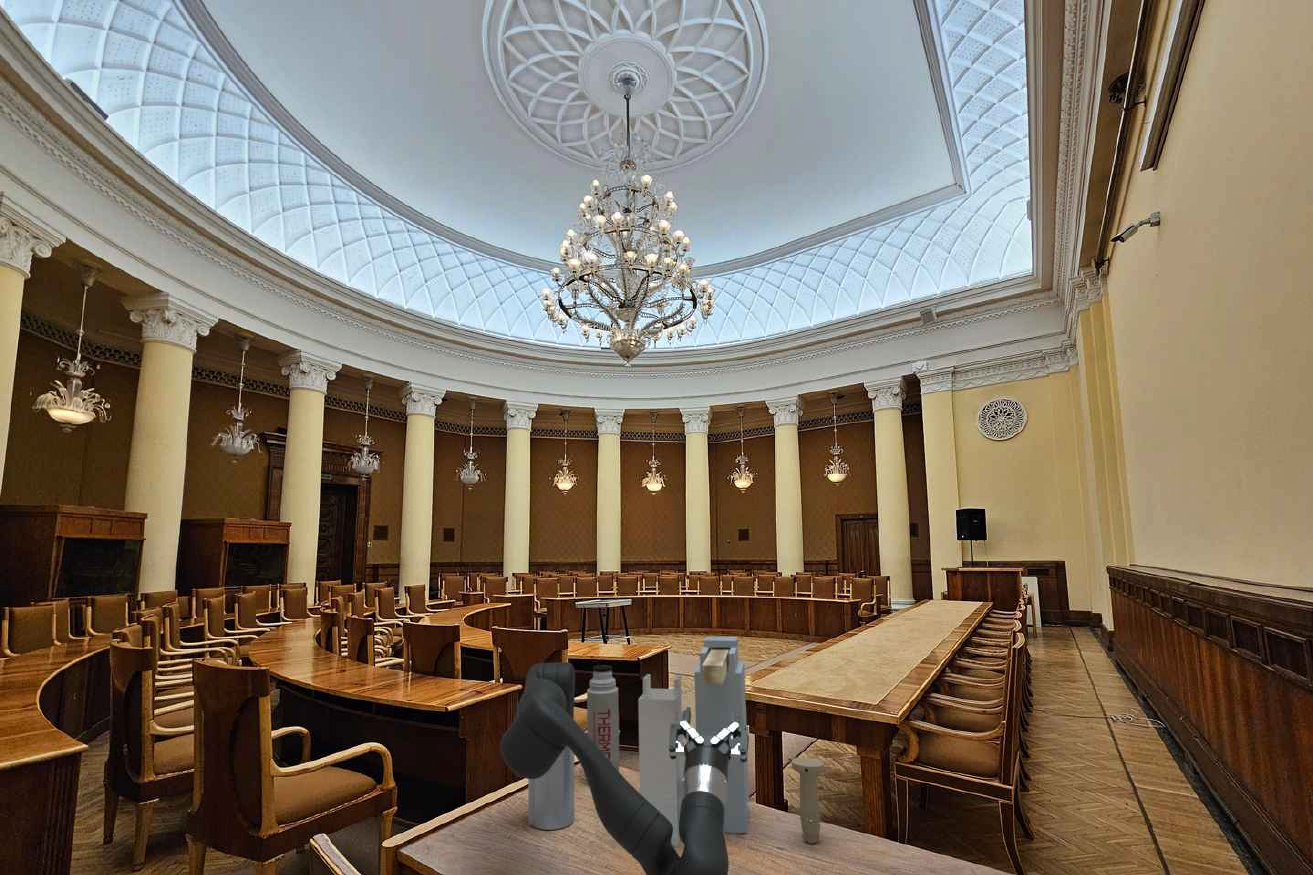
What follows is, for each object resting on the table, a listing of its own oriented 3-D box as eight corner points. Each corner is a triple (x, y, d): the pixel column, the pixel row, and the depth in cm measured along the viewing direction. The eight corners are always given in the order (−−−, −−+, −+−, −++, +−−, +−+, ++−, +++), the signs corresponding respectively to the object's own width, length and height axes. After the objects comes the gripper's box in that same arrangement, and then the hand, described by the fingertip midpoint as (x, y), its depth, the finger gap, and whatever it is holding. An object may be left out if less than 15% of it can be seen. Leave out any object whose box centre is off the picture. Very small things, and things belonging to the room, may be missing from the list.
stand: (698, 830, 137) (693, 645, 142) (705, 806, 149) (700, 636, 154) (746, 833, 135) (740, 646, 140) (749, 809, 147) (743, 636, 152)
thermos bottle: (615, 788, 160) (614, 669, 164) (583, 787, 161) (583, 669, 165) (622, 776, 168) (621, 663, 171) (592, 775, 169) (591, 662, 173)
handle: (826, 848, 128) (822, 767, 130) (793, 843, 131) (790, 764, 133) (828, 837, 133) (825, 759, 135) (797, 833, 135) (793, 756, 137)
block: (702, 683, 131) (702, 665, 131) (714, 660, 152) (713, 645, 153) (722, 683, 130) (722, 665, 131) (731, 661, 152) (730, 645, 152)
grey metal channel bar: (640, 844, 132) (638, 683, 136) (649, 824, 140) (647, 674, 145) (677, 846, 130) (674, 684, 134) (684, 826, 139) (680, 674, 143)
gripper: (664, 797, 112) (675, 725, 127) (748, 802, 110) (749, 727, 125) (660, 764, 109) (672, 694, 124) (746, 768, 107) (748, 696, 122)
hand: (711, 711), depth 124 cm, fingers open, 8 cm apart
